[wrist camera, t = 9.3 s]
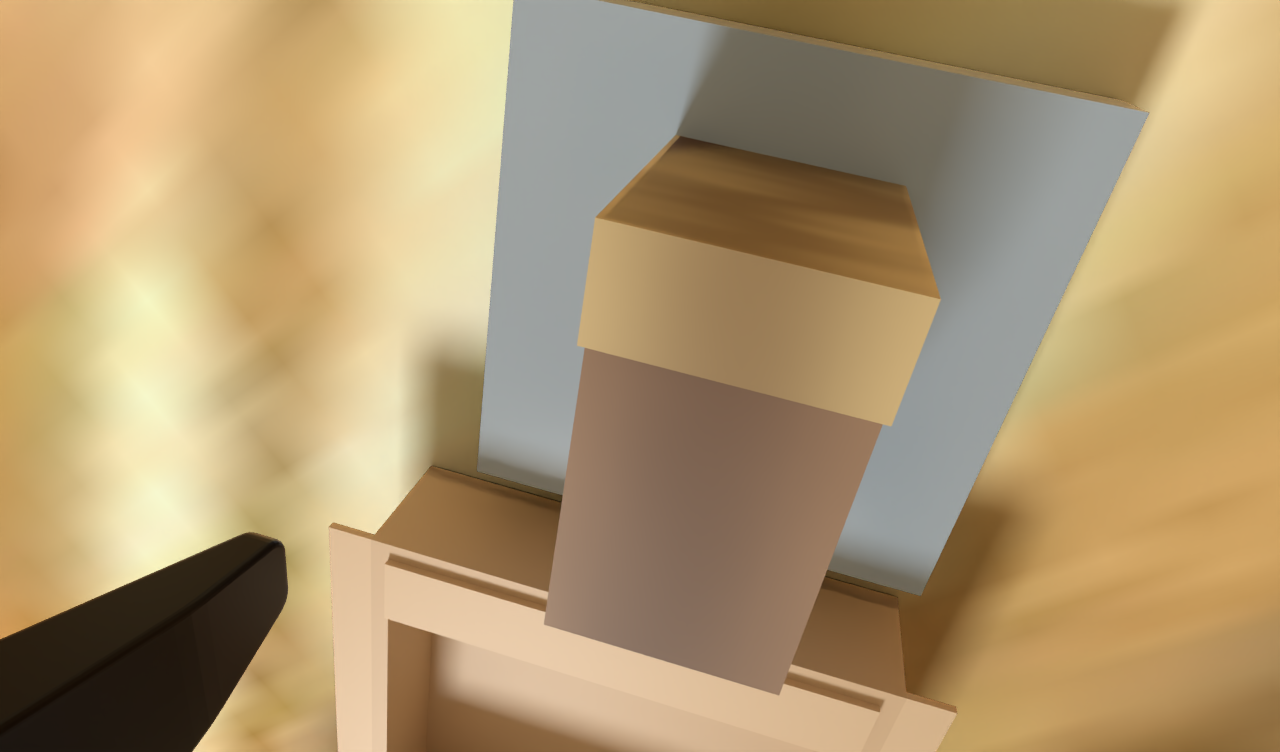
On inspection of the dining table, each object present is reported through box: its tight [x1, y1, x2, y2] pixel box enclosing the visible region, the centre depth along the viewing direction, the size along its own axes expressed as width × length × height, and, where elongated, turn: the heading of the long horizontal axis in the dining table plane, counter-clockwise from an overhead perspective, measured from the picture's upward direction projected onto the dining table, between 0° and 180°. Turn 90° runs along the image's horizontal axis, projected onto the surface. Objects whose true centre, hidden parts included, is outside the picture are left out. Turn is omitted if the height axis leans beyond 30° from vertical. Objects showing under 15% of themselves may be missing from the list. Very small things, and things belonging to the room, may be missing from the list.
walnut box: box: [544, 135, 941, 695], centre depth 15 cm, size 5×8×6 cm, turn 171°
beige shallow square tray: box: [329, 466, 957, 752], centre depth 25 cm, size 16×15×4 cm
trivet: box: [477, 0, 1149, 596], centre depth 18 cm, size 12×12×2 cm
